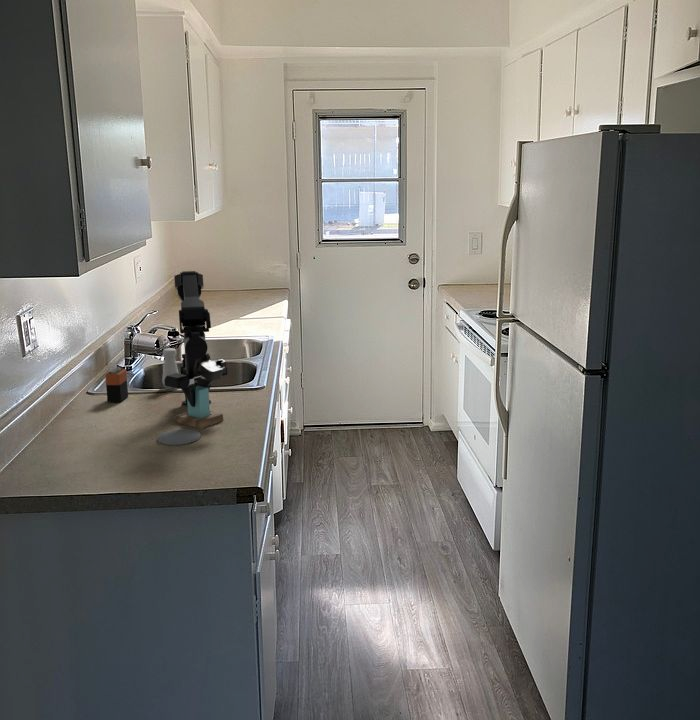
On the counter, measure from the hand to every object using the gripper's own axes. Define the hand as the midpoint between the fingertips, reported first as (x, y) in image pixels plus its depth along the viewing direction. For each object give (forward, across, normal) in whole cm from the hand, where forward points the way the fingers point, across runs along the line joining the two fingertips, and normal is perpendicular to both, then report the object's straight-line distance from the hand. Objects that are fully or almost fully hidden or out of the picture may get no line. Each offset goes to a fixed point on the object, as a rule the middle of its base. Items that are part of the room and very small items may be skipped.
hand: (198, 405), depth 210 cm
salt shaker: (+5, +20, +34) cm, 40 cm away
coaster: (+5, -13, -6) cm, 15 cm away
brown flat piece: (+5, 0, 0) cm, 5 cm away
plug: (+3, 0, 0) cm, 3 cm away
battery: (+5, +1, +37) cm, 37 cm away
